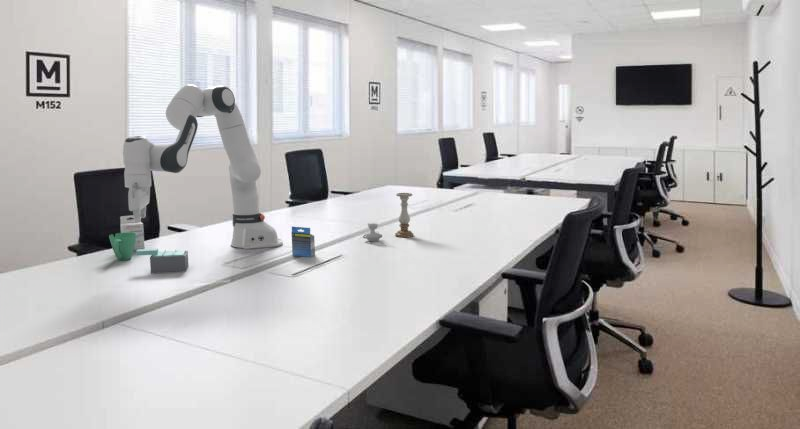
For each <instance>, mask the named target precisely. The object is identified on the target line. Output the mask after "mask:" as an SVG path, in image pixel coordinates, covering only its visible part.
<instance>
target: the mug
mask: <svg viewBox="0 0 800 429" xmlns="http://www.w3.org/2000/svg"><path fill="white" fill-rule="evenodd" d="M108 238H109V241H110V244H111V247H112V250H113V253H114V255H115V257H116V259H117V260H118V261H121V262H122V261H128V260H129V259H130V260H131V259H132V257H133V253H134V251H133V250H134V246H135V240H136V234H135V233H121V232H117V233H115V234H112V233H111V234H109V235H108Z"/></svg>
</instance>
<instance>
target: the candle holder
mask: <svg viewBox="0 0 800 429" xmlns="http://www.w3.org/2000/svg"><path fill="white" fill-rule="evenodd" d="M395 196H396V197H399V199H400V201H401V203H400V206H401V212H400V215H399V216H398V222H399V223H400V224H399V228H400V230H397V231H396V233H395V234H394V235H395V237H398V238H412V237H414V232H412V230H409V227H410V224H409V223H410V221H411V217H410V214H409V212H408V205H409V203H408V200H409V199H410V197H412V196H413V193H411V192H399V193H396V194H395Z"/></svg>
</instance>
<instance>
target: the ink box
mask: <svg viewBox="0 0 800 429" xmlns="http://www.w3.org/2000/svg"><path fill="white" fill-rule="evenodd" d="M130 218H131V219H130ZM119 219H120V233H135V234H136V240H135V246H134V250H133V252H136V251H137V250H138V249H146V248H145V232H144V230H145V229H144V223H143V222H142V221H140V222H135V218H134V214H132V215H123V216H122V215H121V216H120V217H119Z"/></svg>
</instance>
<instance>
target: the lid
mask: <svg viewBox="0 0 800 429" xmlns="http://www.w3.org/2000/svg"><path fill="white" fill-rule="evenodd" d="M186 251H187V250H184V249H183V250H177V249H175V250H166V249H165V250H163V251H161V250H159V248H145V249H138V250H137V251H135V252H136V256H151V255H153V256H152V257H168V256H184V255H185V253H186Z"/></svg>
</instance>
